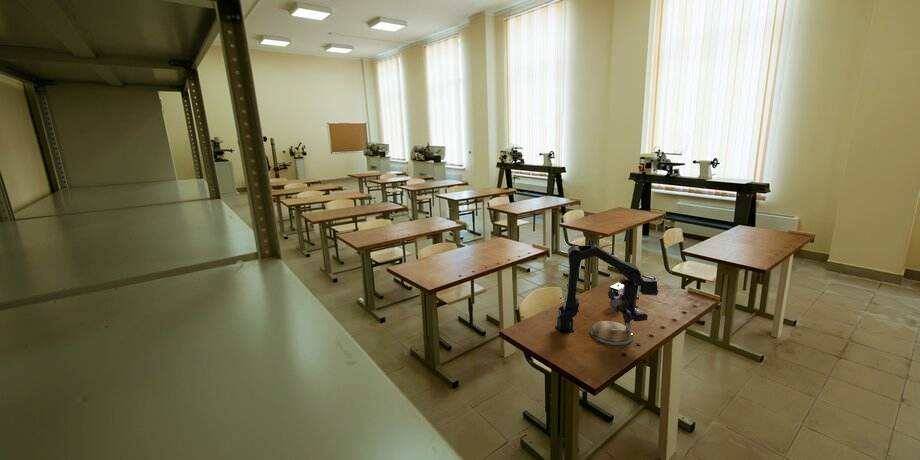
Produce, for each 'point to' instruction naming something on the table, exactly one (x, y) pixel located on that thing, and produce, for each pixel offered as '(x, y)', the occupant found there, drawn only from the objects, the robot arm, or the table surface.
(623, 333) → the dial
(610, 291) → the pneumatic valve
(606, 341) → the dial housing
